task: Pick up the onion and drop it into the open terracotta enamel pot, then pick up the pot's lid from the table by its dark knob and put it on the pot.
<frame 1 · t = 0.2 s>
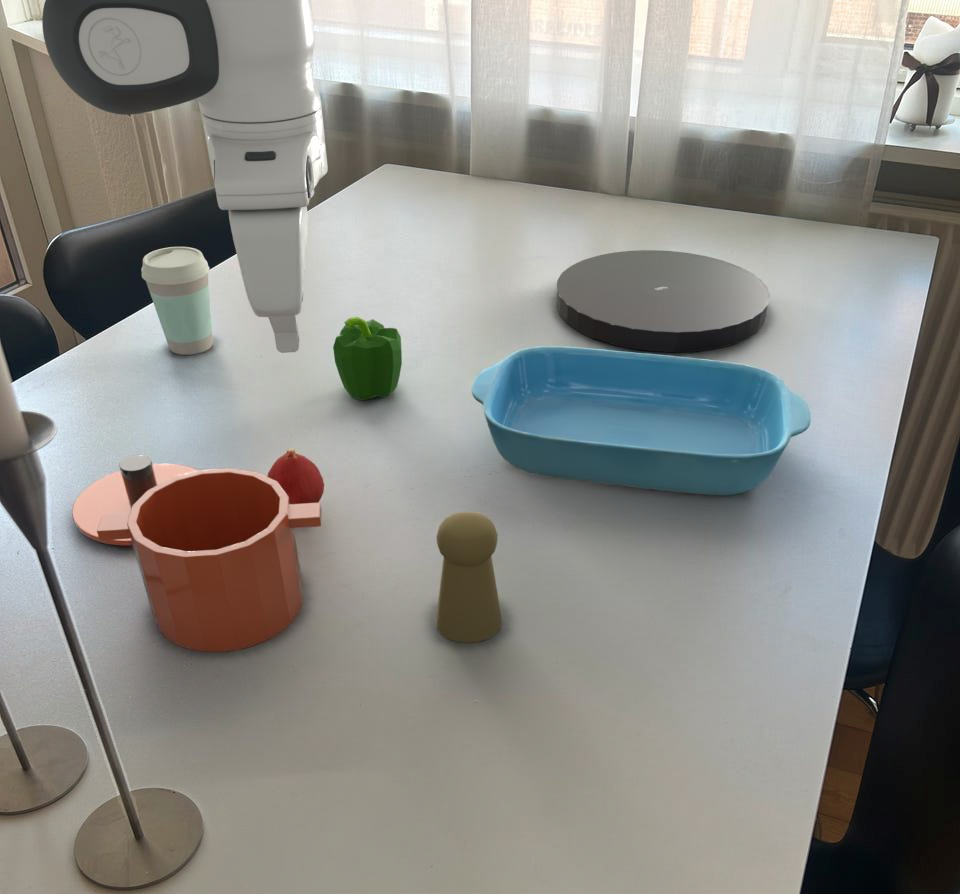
hand: (291, 324, 85), 23 cm above the table, tool pointing down, fingers open, 8 cm apart
pot: (229, 603, 93), on the table
pot lid: (146, 504, 105), point 1 cm above the table
onion: (299, 517, 104), on the table
disc: (659, 308, 144), on the table
olive pawn piece: (468, 622, 91), on the table
coffee cup: (191, 347, 136), on the table
casserole dish: (632, 451, 114), on the table
bell pepper: (370, 392, 125), on the table
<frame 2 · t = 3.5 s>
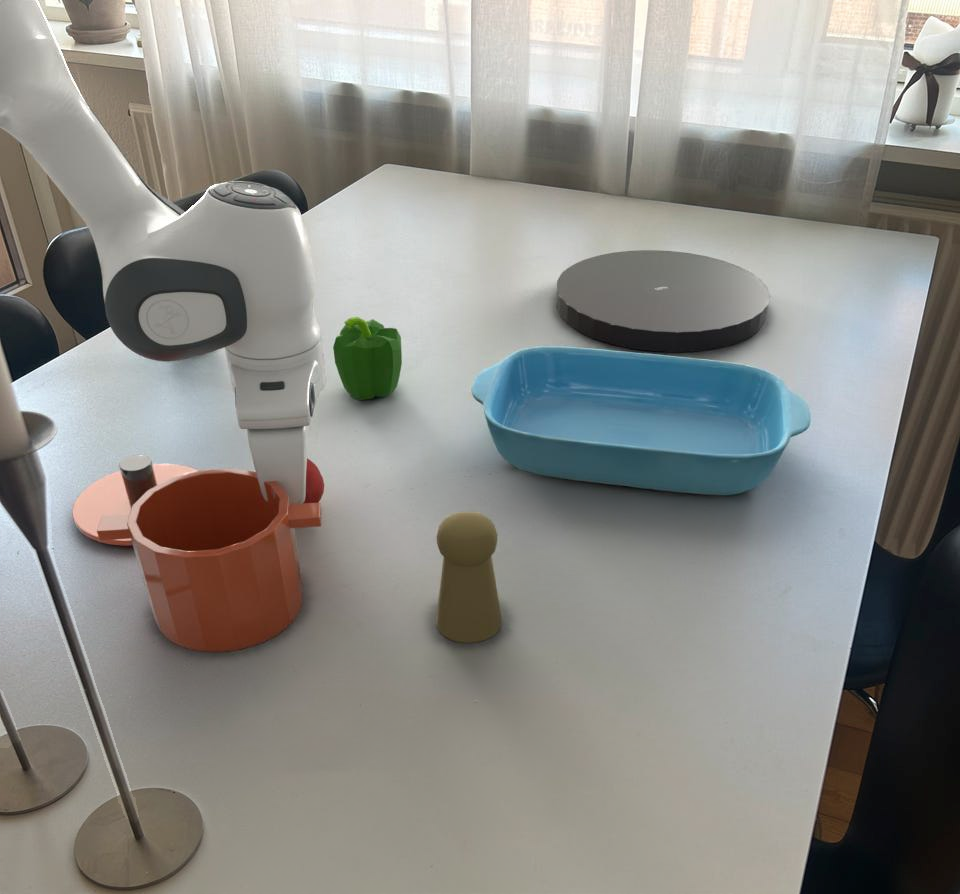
hand: (296, 493, 102), 3 cm above the table, tool pointing down, fingers closed on onion, 6 cm apart
onion: (299, 517, 104), on the table, touching gripper
everything else where it was.
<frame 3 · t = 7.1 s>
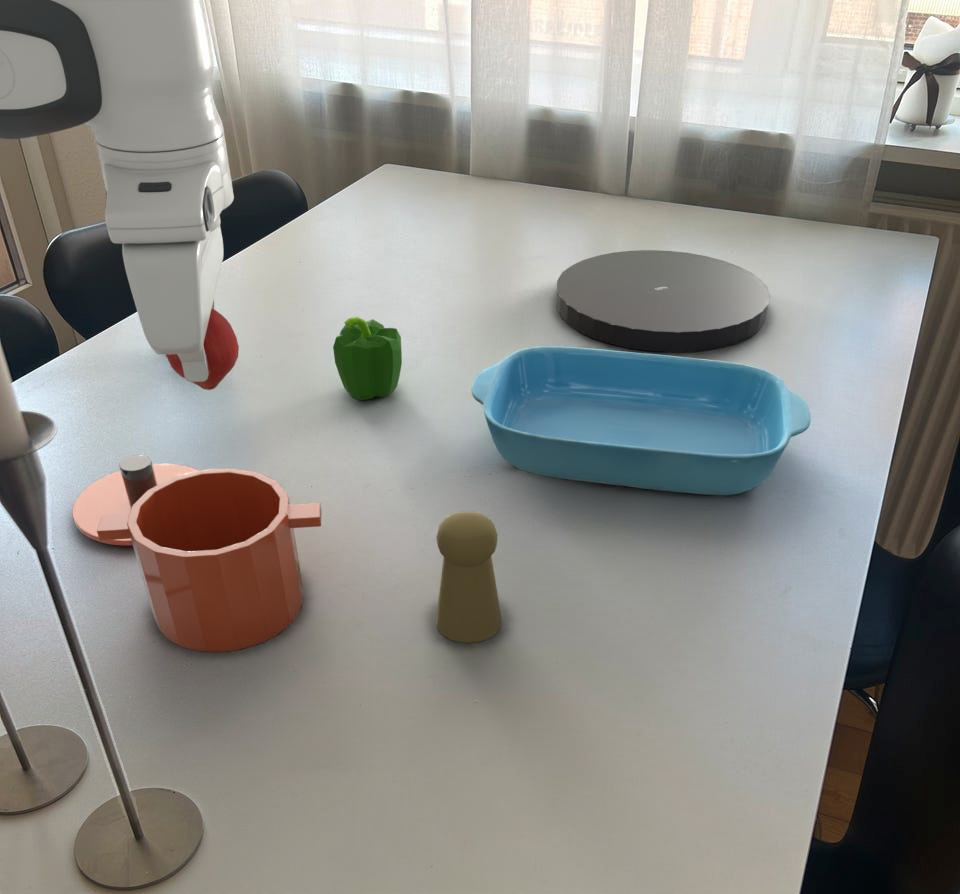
hand: (202, 357, 81), 23 cm above the table, tool pointing down, fingers closed on onion, 6 cm apart
onion: (209, 390, 83), point 20 cm above the table, touching gripper
everything else where it was.
when the fingers open (11 cm above the table, at t = 11.0 s): onion drops 7 cm, resting on pot.
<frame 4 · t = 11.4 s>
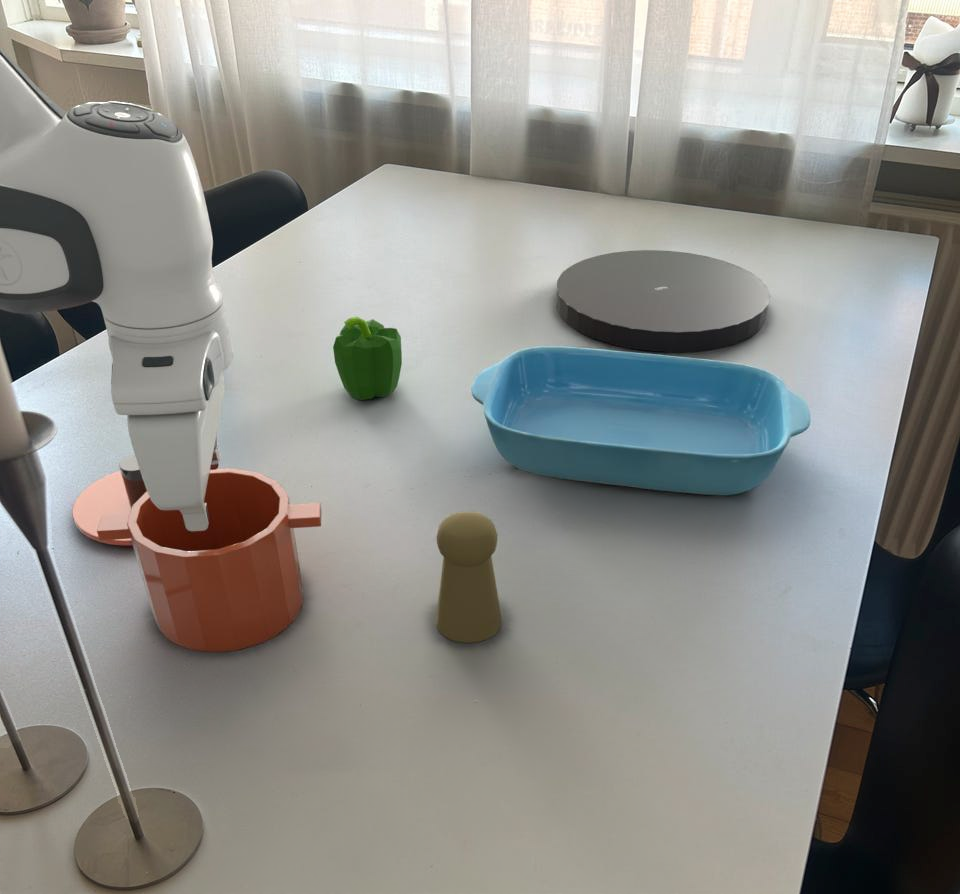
hand: (204, 494, 85), 12 cm above the table, tool pointing down, fingers open, 8 cm apart
onion: (228, 594, 92), point 1 cm above the table, touching pot
everything else where it was.
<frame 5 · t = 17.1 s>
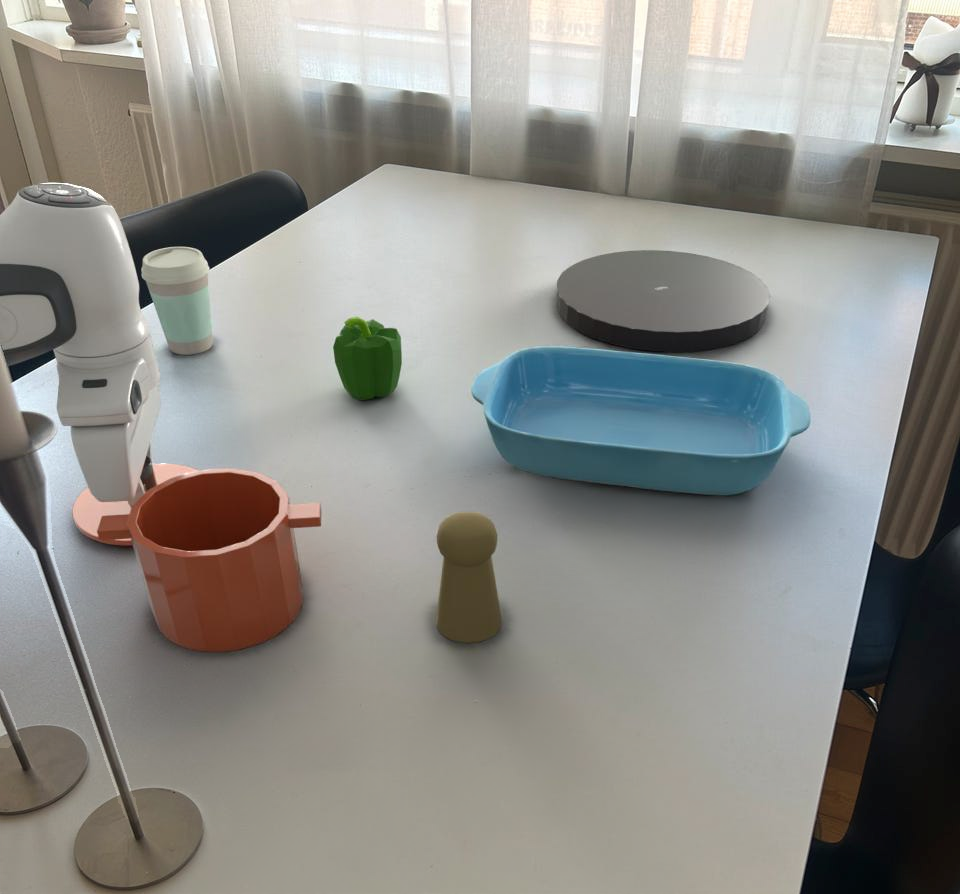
hand: (142, 490, 104), 2 cm above the table, tool pointing down, fingers closed on pot lid, 3 cm apart
pot lid: (146, 504, 105), point 1 cm above the table, touching gripper
everything else where it was.
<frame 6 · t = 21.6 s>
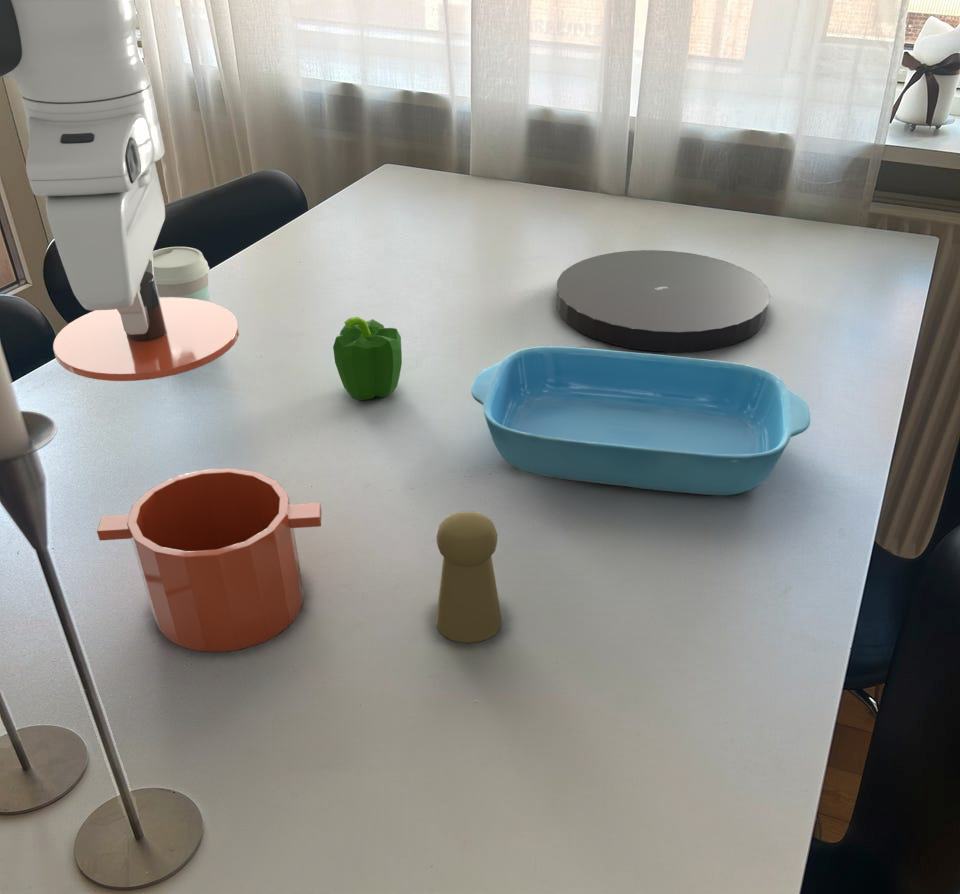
hand: (142, 319, 81), 25 cm above the table, tool pointing down, fingers closed on pot lid, 3 cm apart
pot lid: (148, 339, 82), point 24 cm above the table, touching gripper
everything else where it was.
when the fingers open (12 cm above the table, at t = 26.2 s): pot lid stays where it is, resting on pot.
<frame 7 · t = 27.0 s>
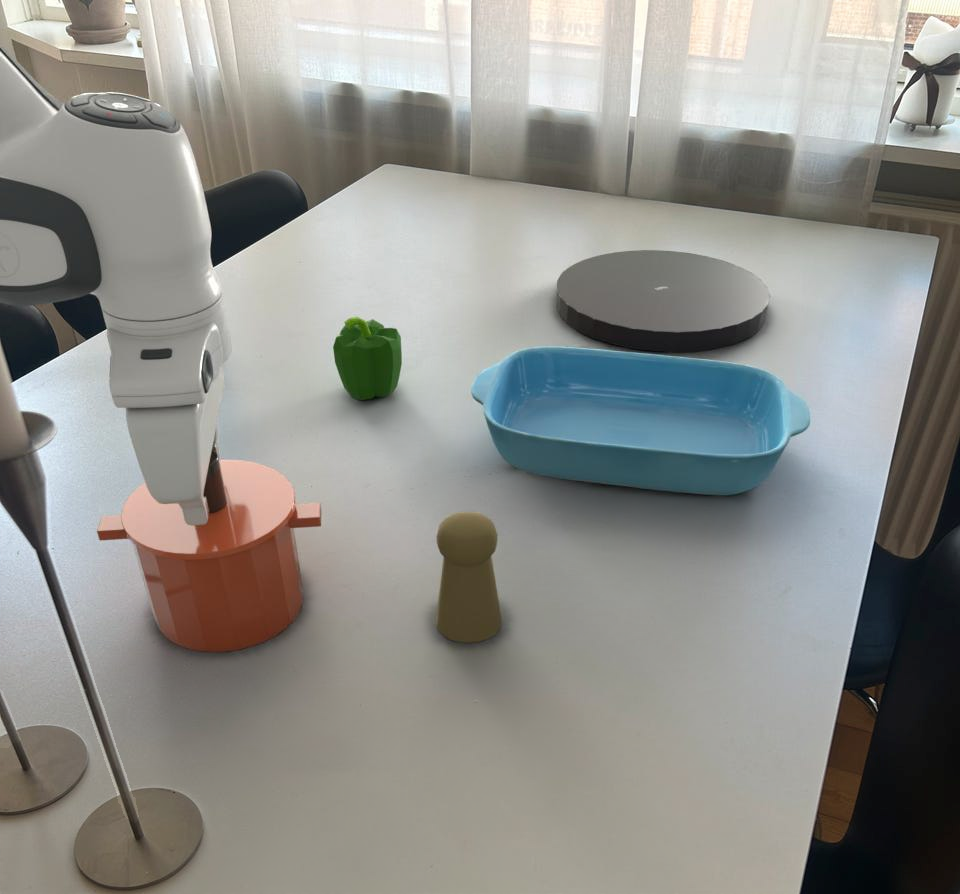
hand: (204, 489, 85), 13 cm above the table, tool pointing down, fingers open, 8 cm apart
pot lid: (210, 509, 87), point 10 cm above the table, touching pot
everything else where it was.
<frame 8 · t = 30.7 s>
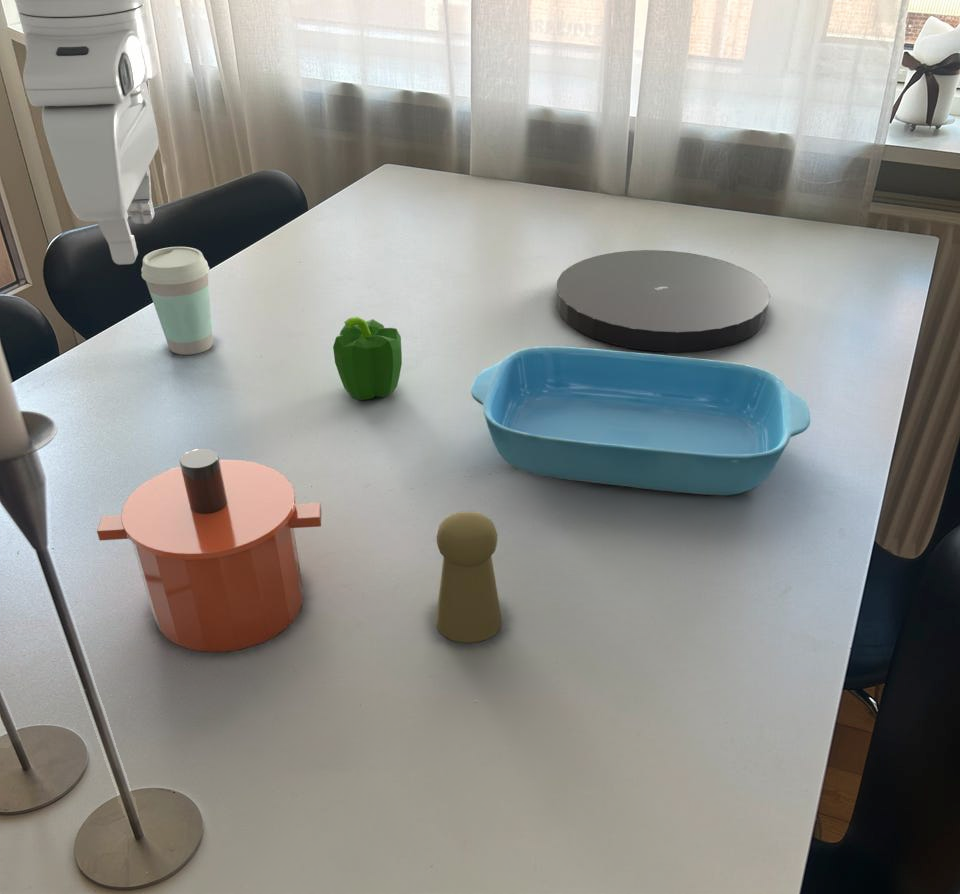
hand: (135, 240, 84), 29 cm above the table, tool pointing down, fingers open, 8 cm apart
nothing on the table moved.
at the end: onion inside the target area in the pot (0.1 cm from its centre), point 1.2 cm above the pot's base; pot lid 0.1 cm off-centre on the pot, point 10.5 cm above the pot's base; pot lid tilted 0° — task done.
